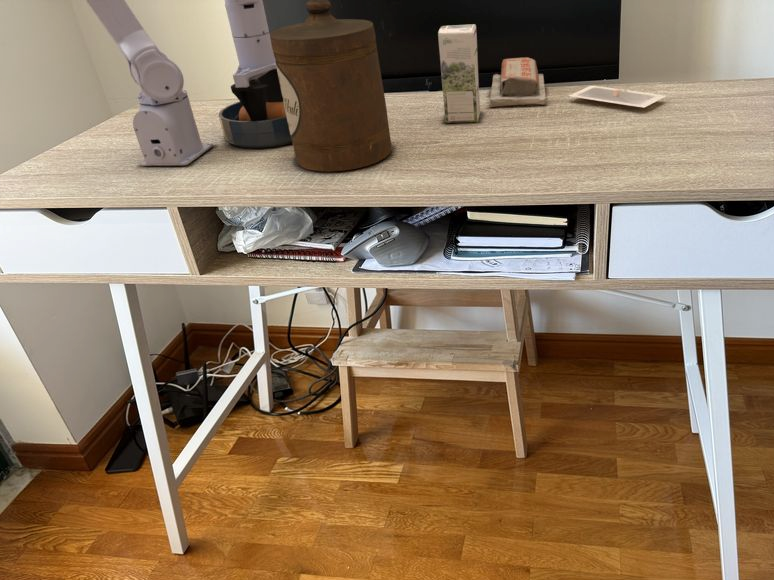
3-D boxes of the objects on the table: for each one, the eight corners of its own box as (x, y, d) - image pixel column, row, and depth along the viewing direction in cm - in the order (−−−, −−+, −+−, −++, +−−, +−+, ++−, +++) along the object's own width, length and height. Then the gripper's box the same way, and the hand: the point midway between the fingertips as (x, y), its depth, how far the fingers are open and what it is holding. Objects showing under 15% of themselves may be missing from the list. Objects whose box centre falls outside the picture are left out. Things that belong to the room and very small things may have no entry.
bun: (308, 125, 117) (303, 98, 114) (298, 134, 113) (293, 106, 110) (249, 126, 119) (242, 99, 116) (238, 135, 115) (230, 107, 112)
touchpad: (643, 114, 112) (644, 100, 111) (567, 102, 120) (568, 89, 119) (666, 102, 117) (667, 89, 115) (591, 91, 125) (592, 79, 124)
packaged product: (492, 56, 132) (543, 54, 131) (493, 82, 135) (543, 80, 134) (488, 80, 117) (546, 77, 116) (489, 108, 120) (546, 106, 119)
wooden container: (309, 141, 111) (279, -8, 99) (398, 137, 110) (379, -14, 97) (284, 175, 99) (246, 9, 87) (383, 170, 98) (360, 2, 85)
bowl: (301, 149, 108) (295, 121, 106) (209, 150, 111) (201, 122, 109) (332, 119, 121) (328, 93, 119) (249, 120, 124) (243, 95, 121)
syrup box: (481, 112, 118) (476, 22, 110) (478, 123, 114) (473, 29, 105) (448, 114, 119) (441, 24, 111) (444, 124, 114) (437, 31, 106)
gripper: (255, 43, 101) (276, 134, 108) (291, 24, 112) (307, 107, 120) (212, 44, 102) (235, 134, 110) (251, 25, 113) (270, 108, 121)
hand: (270, 120), depth 115 cm, fingers open, 7 cm apart
